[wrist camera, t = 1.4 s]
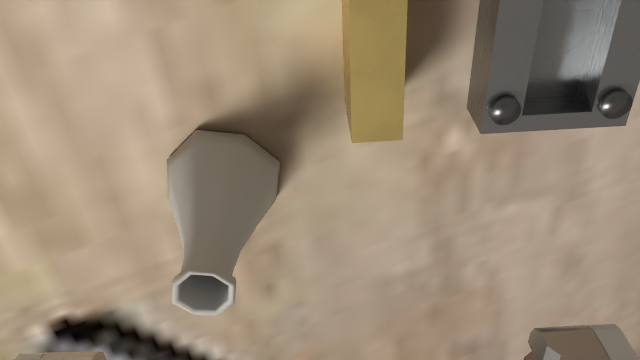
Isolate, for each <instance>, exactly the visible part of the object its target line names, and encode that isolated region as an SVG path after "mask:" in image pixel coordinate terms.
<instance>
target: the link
mask: <svg viewBox="0 0 640 360" xmlns="http://www.w3.org/2000/svg"><path fill="white" fill-rule="evenodd" d="M639 81H640V0H480V5H479V13H478V22H477V30H476V38H475V46H474V54H473V63H472V71H471V79H470V87H469V95H468V104H467V109H468V111H469V113H470V115H471V117H472V119H473V120H474V122H475V124H476V126H477V128H478V130H479V132H480V133H481V134H488V133H505V132H523V131H540V130H558V129H575V128H593V127H610V126H626V122H627V119H628V116H629V113H630V110H631V107H632V103H633V100H634V97H635V93H636V90H637V87H638V84H639Z"/></svg>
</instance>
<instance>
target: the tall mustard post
mask: <svg viewBox="0 0 640 360" xmlns="http://www.w3.org/2000/svg"><path fill="white" fill-rule="evenodd" d="M407 7H408V0H342V25H343V58H344V91H345V104H346V110H347V116H348V123H349V129H350V135H351V141H352V143H360V142H376V141H391V140H403V113H404V86H405V60H406V33H407Z"/></svg>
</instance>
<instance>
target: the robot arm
mask: <svg viewBox="0 0 640 360" xmlns="http://www.w3.org/2000/svg"><path fill="white" fill-rule="evenodd" d="M528 343H529V345H530V348H531V350H532V351H531V352H530V353H529V354H528V355H527V356H525V357H524V360H640V359H639V357H638V356H637V354H636V353H635V351H634V350H633V348H632V346H631V345H630V343H629V342H628V340H627V339H626V337H625V335H624V334H623V332H622V331H621V329H620V328H619V327H618V326H616V325H615V324H605V325H587V326H585V325H579V326H563V327H547V328H534V329H533V330H532V332H531V333H530V336H529V340H528ZM14 360H106V357H105V355H104V353H103V352H98V351H97V352H57V353H31V354H19V355H18V356H17V357H16V358H15V359H14Z"/></svg>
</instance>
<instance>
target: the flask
mask: <svg viewBox="0 0 640 360" xmlns="http://www.w3.org/2000/svg"><path fill="white" fill-rule="evenodd" d="M279 170H280V161H278V160H277V159H276V158H274V157H273V156H272V155H271V154H269V153H268V152H267V151H265V150H264V149H263V148H261V147H260V146H259V145H258V144H256V143H255V142H254V141H252V140H251V139H250V138H249V137H247V136H246V135H243V134H233V133H223V132H212V131H202V130H196V131H195V132H194V133H193V134H192V135H191V136H190V137H189V138H188V139H187V140H186V141H185V142H184V143H183V144H182V145H181V146H180V147H179V148H178V149H177V150H176V151H175V152H174V153H173V154H172V155H171V156H170V157H169V158H168V159H167V171H168V199H169V202H170V206H171V209H172V212H173V215H174V217H175V220H176V223H177V227H178V231H179V235H180V238H181V242H182V246H183V250H184V259H183V264H182V269H181V272H180V273H179V274H178V275H177V276H176V277H175V278H174V279H173V281H172V303H174V304H175V305H177V306H179V307H181V308H182V309H184V310H186V311H188V312H190V313H191V314H196V315H212V316H219V315H220V314H221V313H222V312H224V311H225V310H226V309H227V308H229V307H230V306H231V305H232V304H234V301H235V291H236V279H235V277H233V276H232V273H233V270H234V267H235V265H236V262H237V259H238V257H239V254H240V251H241V250H242V248H243V247H244V245H245V243H246V242H247V240H248V239H249V237H250V236H251V234H252V233H253V231H254V230H255V228H256V226H257V225H258V224H259V222H260V221H261V220H262V218H263V217H264V215H265V214H266V213H267V211H268V210H269V209H270V207H271V206H272V204H273V203H274V201H275V200H276V195H277V187H278V178H279Z"/></svg>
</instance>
